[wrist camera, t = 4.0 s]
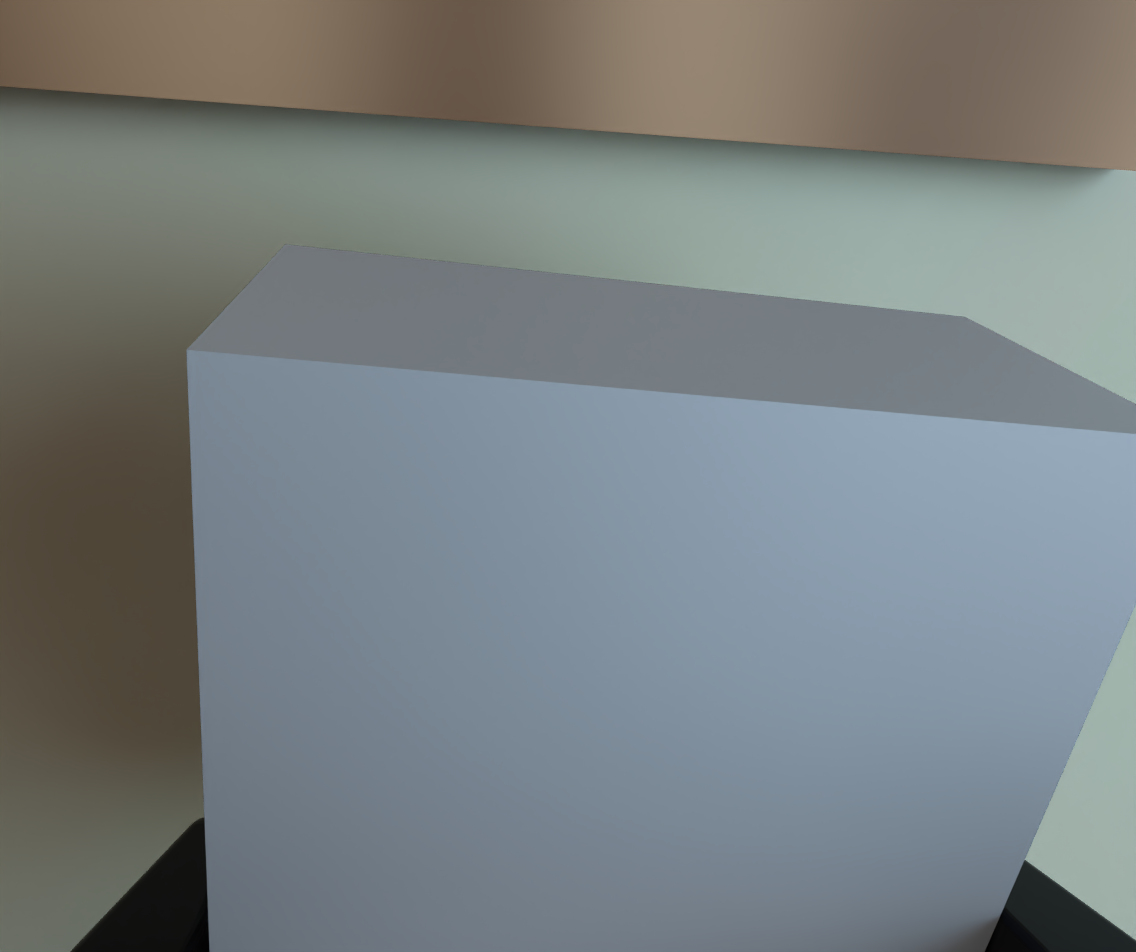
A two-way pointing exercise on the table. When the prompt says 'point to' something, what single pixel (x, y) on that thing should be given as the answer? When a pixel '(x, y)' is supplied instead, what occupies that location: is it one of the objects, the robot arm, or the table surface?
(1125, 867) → the table surface
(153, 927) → the robot arm
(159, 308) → the table surface
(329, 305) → the blue-grey rectangular block
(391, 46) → the board
